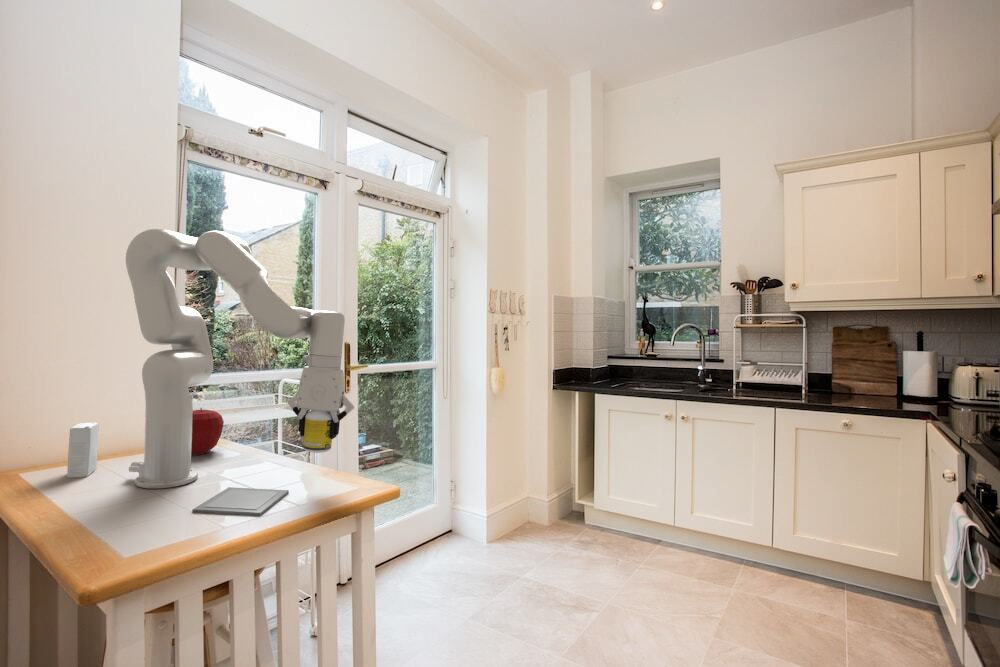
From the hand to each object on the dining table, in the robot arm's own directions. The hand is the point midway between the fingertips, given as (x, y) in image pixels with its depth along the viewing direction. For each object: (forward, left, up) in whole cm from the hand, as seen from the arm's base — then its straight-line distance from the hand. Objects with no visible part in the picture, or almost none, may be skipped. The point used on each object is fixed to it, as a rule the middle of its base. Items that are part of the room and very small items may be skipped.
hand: (318, 435), depth 122 cm
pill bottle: (0, 0, -4) cm, 4 cm away
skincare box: (-58, +2, -13) cm, 60 cm away
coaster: (-12, -11, -13) cm, 21 cm away
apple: (-43, +25, -13) cm, 51 cm away
